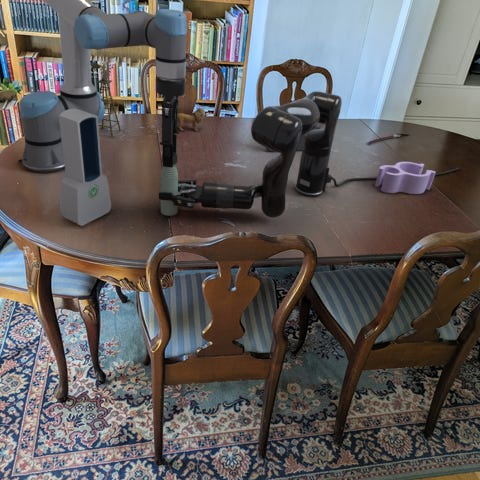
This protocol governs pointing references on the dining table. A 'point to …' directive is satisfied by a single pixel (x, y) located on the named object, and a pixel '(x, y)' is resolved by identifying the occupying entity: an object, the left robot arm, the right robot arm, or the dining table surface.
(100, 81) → the miniature windmill
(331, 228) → the dining table surface
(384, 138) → the sword
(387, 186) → the clip
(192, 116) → the lion figurine
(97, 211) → the electronic device
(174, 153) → the cap
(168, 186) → the bottle
